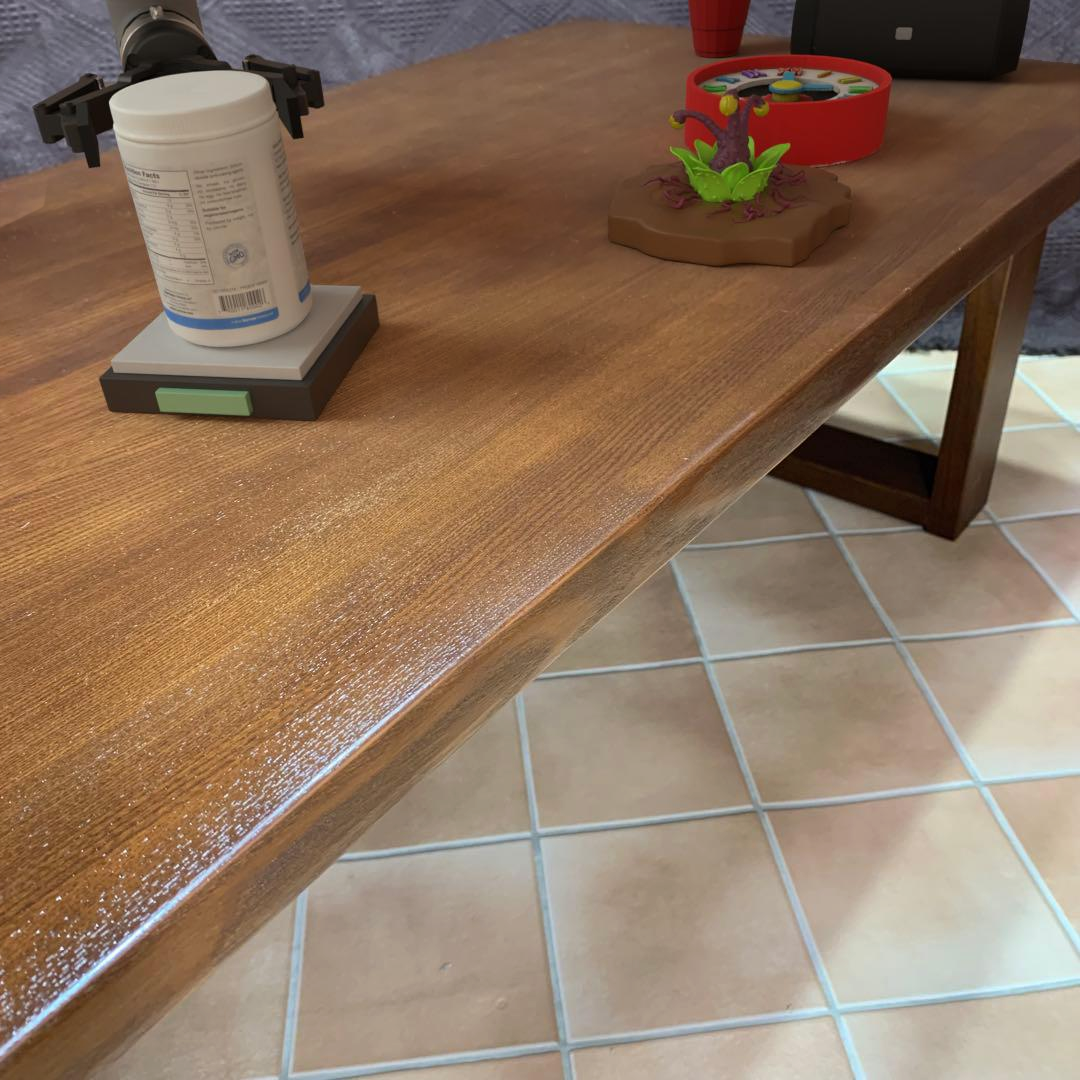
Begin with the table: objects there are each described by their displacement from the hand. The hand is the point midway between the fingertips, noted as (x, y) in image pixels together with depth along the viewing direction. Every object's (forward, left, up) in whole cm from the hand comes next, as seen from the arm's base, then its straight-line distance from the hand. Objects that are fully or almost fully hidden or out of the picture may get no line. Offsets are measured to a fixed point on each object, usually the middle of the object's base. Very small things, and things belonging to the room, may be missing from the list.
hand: (194, 132), depth 72 cm
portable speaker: (+54, +73, -14) cm, 92 cm away
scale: (+4, -7, -13) cm, 16 cm away
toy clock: (+40, +47, -14) cm, 63 cm away
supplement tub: (+4, -7, -10) cm, 13 cm away
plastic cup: (+32, +86, -14) cm, 93 cm away
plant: (+35, +22, -14) cm, 44 cm away
